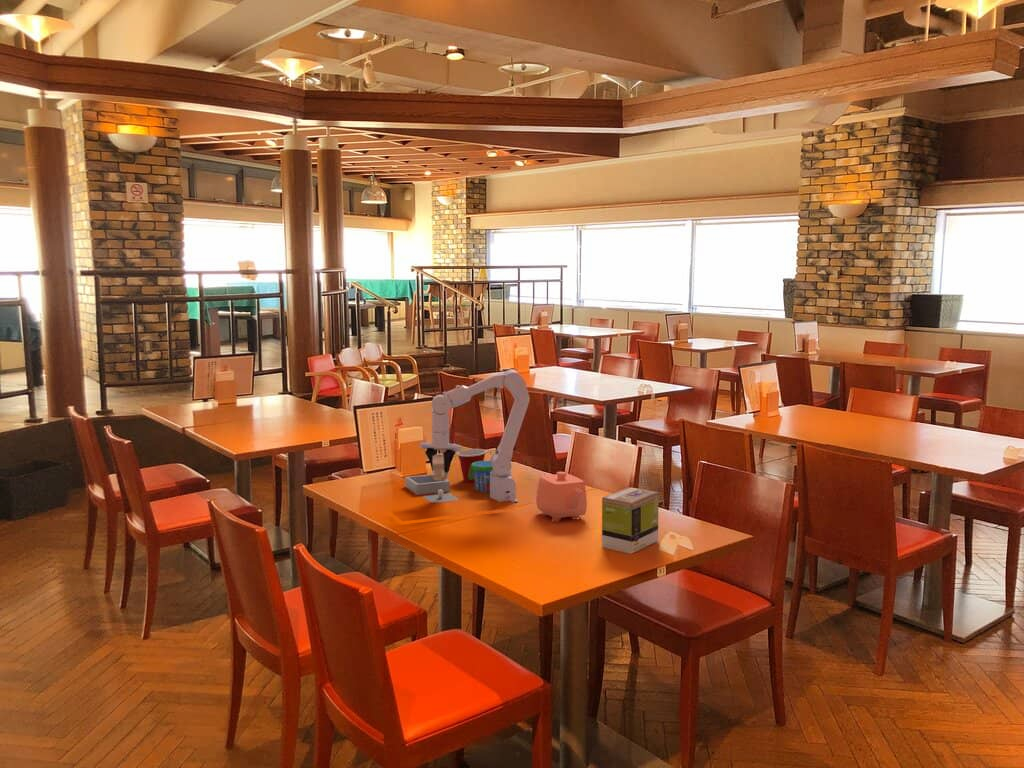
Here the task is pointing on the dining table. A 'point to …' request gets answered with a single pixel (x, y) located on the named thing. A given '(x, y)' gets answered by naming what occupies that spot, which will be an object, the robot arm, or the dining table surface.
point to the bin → (425, 484)
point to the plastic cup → (470, 461)
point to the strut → (439, 468)
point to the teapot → (561, 496)
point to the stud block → (440, 497)
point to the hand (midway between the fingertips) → (440, 471)
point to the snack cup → (481, 475)
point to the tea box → (629, 520)
